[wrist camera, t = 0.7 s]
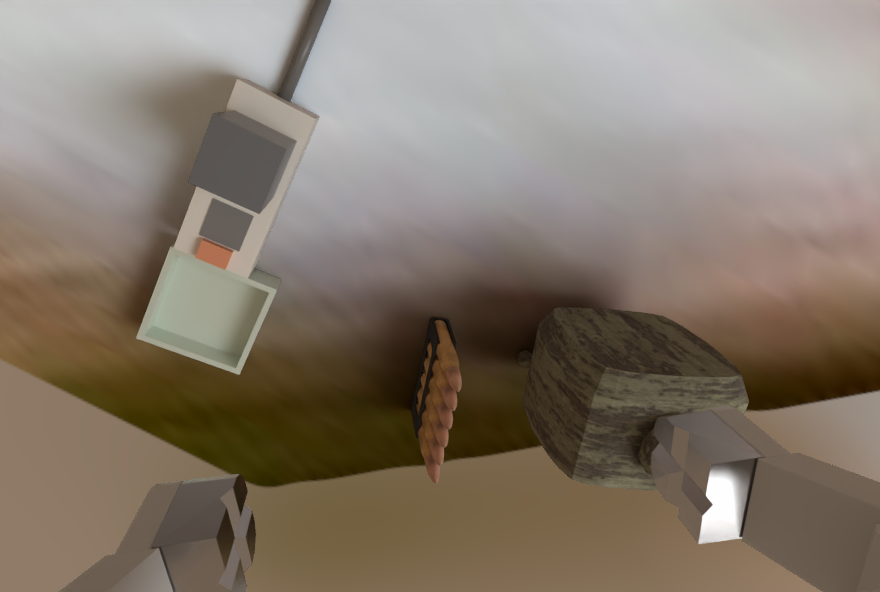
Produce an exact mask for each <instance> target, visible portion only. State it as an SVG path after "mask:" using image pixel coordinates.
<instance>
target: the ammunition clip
mask: <svg viewBox="0 0 880 592" xmlns="http://www.w3.org/2000/svg"><path fill="white" fill-rule="evenodd" d="M456 346H457V344H456V341H455V338H454V335H453V332H452V329H451V326H450V323H449V320H448V319H440V318H433V317H431V318H430V322H429V327H428V331H427V336H426V341H425V346H424V350H423V355H422V360H421V365H420V369H419V374H418V379H417V384H416V388H415V393H414V398H413V403H412V407H411V412H412V418H413V424H414V429H415V435H416V438H419V442H420V448H421V453H422V455H423V457H424V460H425V463H426V468H427V471H428V474H429V476H430V478H431V480H432V481H433V482H434V483H437V482H438V480H439V475H440V466H441V465H442V463H443V459H444V448H445V447H446V446H447V443H448V429H450V428H451V426H452V422H453V416H452V411H454V410H455V409H456V406H457V395H456V391H457V392H459V391H460V389H461V385H462V380H461V374H460V369H459V360H458V357H457V354H456V351H455V350H456Z"/></svg>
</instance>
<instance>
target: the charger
mask: <svg viewBox="0 0 880 592" xmlns="http://www.w3.org/2000/svg"><path fill="white" fill-rule="evenodd" d="M296 143H297V141H296V140H294V139H292V138H290V137H288V136H286V135H284V134H282V133H280V132H277V131H275V130H273V129H271V128H269V127H267V126H265V125H263V124H261V123H259V122H257V121H255V120H253V119H251V118H249V117H247V116H245V115H243V114H241V113H239V112H237V111H235V110H234V111H227V112H219V113H213V116H212V118H211V121H210V124H209V126H208V129H207V132H206V134H205V137H204V140H203V143H202V145H201V148H200V151H199V153H198V156H197V159H196V161H195V164H194V167H193V169H192V172H191V175H190V178H189V180H188V183H190V184H193V185H195V186H197V187H199V188H201V189H204V190H206V191H208V192H210V193H213V194H215V195H217V196H219V197H222V198H224V199H226V200H228V201H231V202H233V203H235V204H237V205H240V206H242V207H244V208H246V209H249V210H251V211H253V212H255V213H258V214H260V213H261V212H262V210H263V209H264V208H265V207H266V206H267V205H268V203H269V202H270V201H271V200H272V199H273V197H274V195H275V193H276V190H277V188H278V185H279V183H280V181H281V178H282V176H283V174H284V171H285V169H286V166H287V164H288V162H289V159H290V157H291V155H292V152H293V150H294V147H295V145H296Z"/></svg>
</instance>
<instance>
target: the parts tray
mask: <svg viewBox="0 0 880 592" xmlns="http://www.w3.org/2000/svg"><path fill="white" fill-rule="evenodd" d="M174 245H175V243H174V244H173V245H172V246H171V247H170V249H169V252H168V254H167V257H166V260H165V262H164V265H163V268H162V270H161V273H160V276H159V278H158V281H157V284H156V286H155V289H154V292H153V294H152V297H151V300H150V302H149V305H148V308H147V310H146V313H145V316H144V318H143V321H142V324H141V326H140V329H139V332H138V335H137V337H136V338H137V339H140V340H143V341H145V342H148V343H151V344H154V345H157V346H159V347H162V348H165V349H168V350H171V351H174V352H176V353H179V354H182V355H185V356H188V357H191V358H193V359H196V360H199V361H202V362H205V363H207V364H210V365H213V366H216V367H219V368H222V369H224V370H227V371H230V372H233V373H236V374H238V375H239V374H240V372H241V370H242V368H243V365H244V363H245V361H246V359H247V356H248V354H249V352H250V350H251V348H252V345H253V343H254V341H255V339H256V336H257V334H258V332H259V330H260V327H261V325H262V323H263V321H264V318H265V316H266V314H267V312H268V309H269V307H270V305H271V303H272V300H273V298H274V296H275V294H276V291H277V289H278V287H279V285H280V282H281V279H278V278H276V277H273V276H271V275H269V274H266V273H264V272H261V271H259V270H257V269H253V271H252V272H251V274H250V276H249V277H248V278H245V277H243V276H240V275H238V274H235V273H233V272H230V271H228V270H224V269H222V268H219V267H217V266H214V265H212V264H209V263H207V262H205V261H202V260H200V259H197V258H195V257H194V256H191V255H189V254H186V253H184V252H181V251H179V250H176V249H174Z"/></svg>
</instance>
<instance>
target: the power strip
mask: <svg viewBox="0 0 880 592" xmlns="http://www.w3.org/2000/svg"><path fill="white" fill-rule="evenodd" d="M330 2H331V0H316V2H315V4H314V7H313V9H312V12H311V14H310V17H309V19H308V22H307V24H306V27H305V29H304V32H303V34H302V37H301V39H300V42H299V44H298V47H297V49H296V51H295V54H294V56H293V59H292V61H291V64H290V66H289V69H288V71H287V74H286V76H285V79H284V81H283V84H282V86H281V89H280V91H279V94H278V95H276V94H274V93H272V92H270V91H268V90H267V89H265V88H263V87H261V86H259V85H257V84H255V83H253V82H251V81H249V80H243V79H237V80H236V83H235V86H234V88H233V91H232V94H231V96H230V99H229V102H228V104H227V107H226V110H225V112H227V111H234V110H235V111H237V112H239V113H241V114H243V115H245V116H247V117H249V118H251V119H253V120H255V121H257V122H259V123H261V124H263V125H265V126H267V127H269V128H271V129H273V130H275V131H277V132H280V133H282V134H284V135H286V136H288V137H290V138H292V139H294V140H296V141H297V143H296V145H295V147H294V150H293V152H292V155H291V157H290V159H289V162H288V164H287V166H286V169H285V171H284V174H283V176H282V178H281V181H280V183H279V185H278V188H277V190H276V193H275V195H274V197H273V199H272V200H271V201H270V202H269V203H268V205H267V206H266V207H265V208H264V209H263V210H262V212H261V213H260V214H258V213H255V212H253V211H251V210H249V209H246V208H244V207H242V206H240V205H237V204H235V203H233V202H231V201H228V200H226V199H224V198H222V197H219V196H217V195H215V194H213V193H210V192H208V191H206V190H204V189H201V188H199V187H196V189H195V192H194V195H193V197H192V200H191V203H190V205H189V208H188V211H187V213H186V216H185V219H184V221H183V224H182V227H181V229H180V232H179V235H178V237H177V240H176V242H175V245H174V249H176V250H179V251H181V252H184V253H186V254H189V255H191V256H194V257H195V258H197V259H200V260H202V261H205V262H207V263H209V264H212V265H214V266H217V267H219V268H222V269H224V270H228V271H230V272H233V273H235V274H238V275H240V276H243V277H245V278H248V277H249V276H250V274H251V272H252V271H253V269H254V268H255V266H256V264H257V262H258V260H259V258H260V255H261V253H262V251H263V248H264V246H265V244H266V241H267V239H268V237H269V234H270V232H271V229H272V227H273V225H274V222H275V220H276V218H277V215H278V213H279V211H280V208H281V206H282V204H283V201H284V199H285V197H286V194H287V192H288V190H289V187H290V185H291V183H292V180H293V178H294V176H295V173H296V171H297V169H298V166H299V164H300V162H301V159H302V157H303V155H304V152H305V150H306V148H307V145H308V143H309V141H310V138H311V136H312V134H313V131H314V129H315V127H316V124H317V122H318V120H319V116H317V115H315V114H313V113H311V112H309V111H307V110H305V109H303V108H301V107H299V106H298V105H296V104H294V103H292V102H290V100H291V98H292V96H293V93H294V91H295V88H296V86H297V83H298V81H299V78H300V76H301V74H302V71H303V69H304V66H305V64H306V61H307V59H308V56H309V54H310V51H311V49H312V47H313V44H314V42H315V39H316V37H317V34H318V32H319V29H320V27H321V25H322V22H323V20H324V17H325V15H326V12H327V10H328V7H329V5H330Z"/></svg>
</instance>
